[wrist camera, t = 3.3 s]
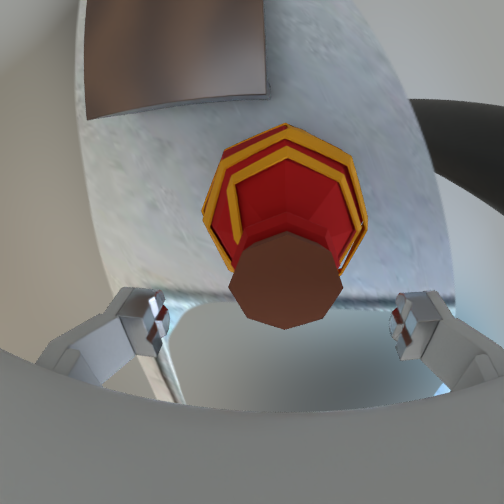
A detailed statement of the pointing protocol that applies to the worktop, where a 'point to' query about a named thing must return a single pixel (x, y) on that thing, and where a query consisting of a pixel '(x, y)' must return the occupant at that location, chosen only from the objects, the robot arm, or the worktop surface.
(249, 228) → the potion bottle
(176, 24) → the shelf
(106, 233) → the worktop surface
